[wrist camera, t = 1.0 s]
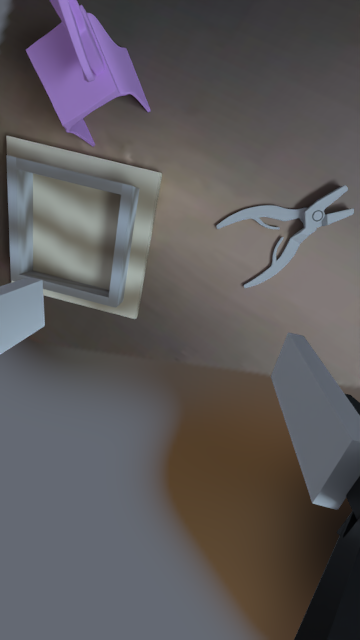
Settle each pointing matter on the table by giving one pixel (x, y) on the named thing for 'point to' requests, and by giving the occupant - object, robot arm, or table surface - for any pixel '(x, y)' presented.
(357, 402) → the robot arm
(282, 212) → the pliers
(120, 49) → the toy chair
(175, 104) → the table surface
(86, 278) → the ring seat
